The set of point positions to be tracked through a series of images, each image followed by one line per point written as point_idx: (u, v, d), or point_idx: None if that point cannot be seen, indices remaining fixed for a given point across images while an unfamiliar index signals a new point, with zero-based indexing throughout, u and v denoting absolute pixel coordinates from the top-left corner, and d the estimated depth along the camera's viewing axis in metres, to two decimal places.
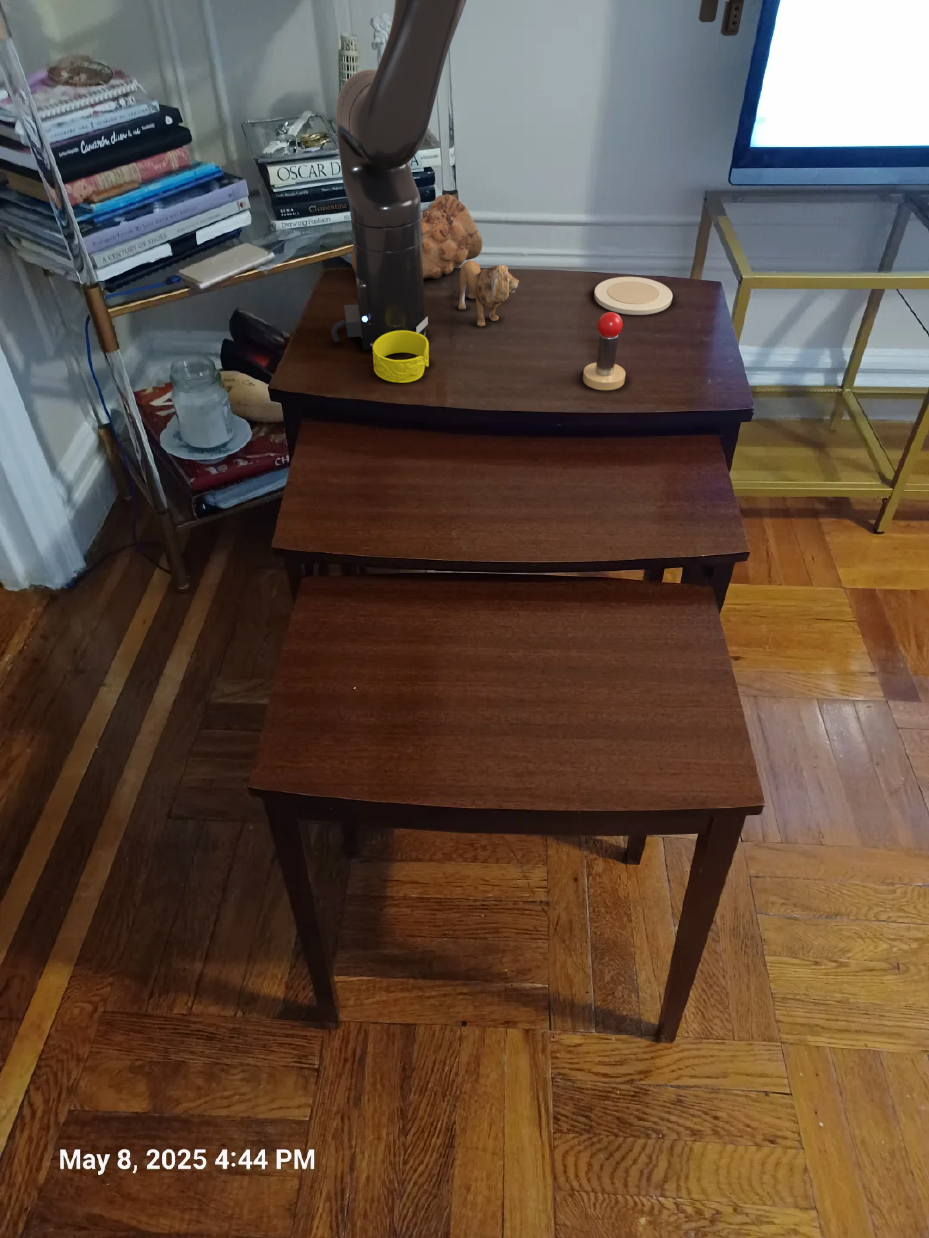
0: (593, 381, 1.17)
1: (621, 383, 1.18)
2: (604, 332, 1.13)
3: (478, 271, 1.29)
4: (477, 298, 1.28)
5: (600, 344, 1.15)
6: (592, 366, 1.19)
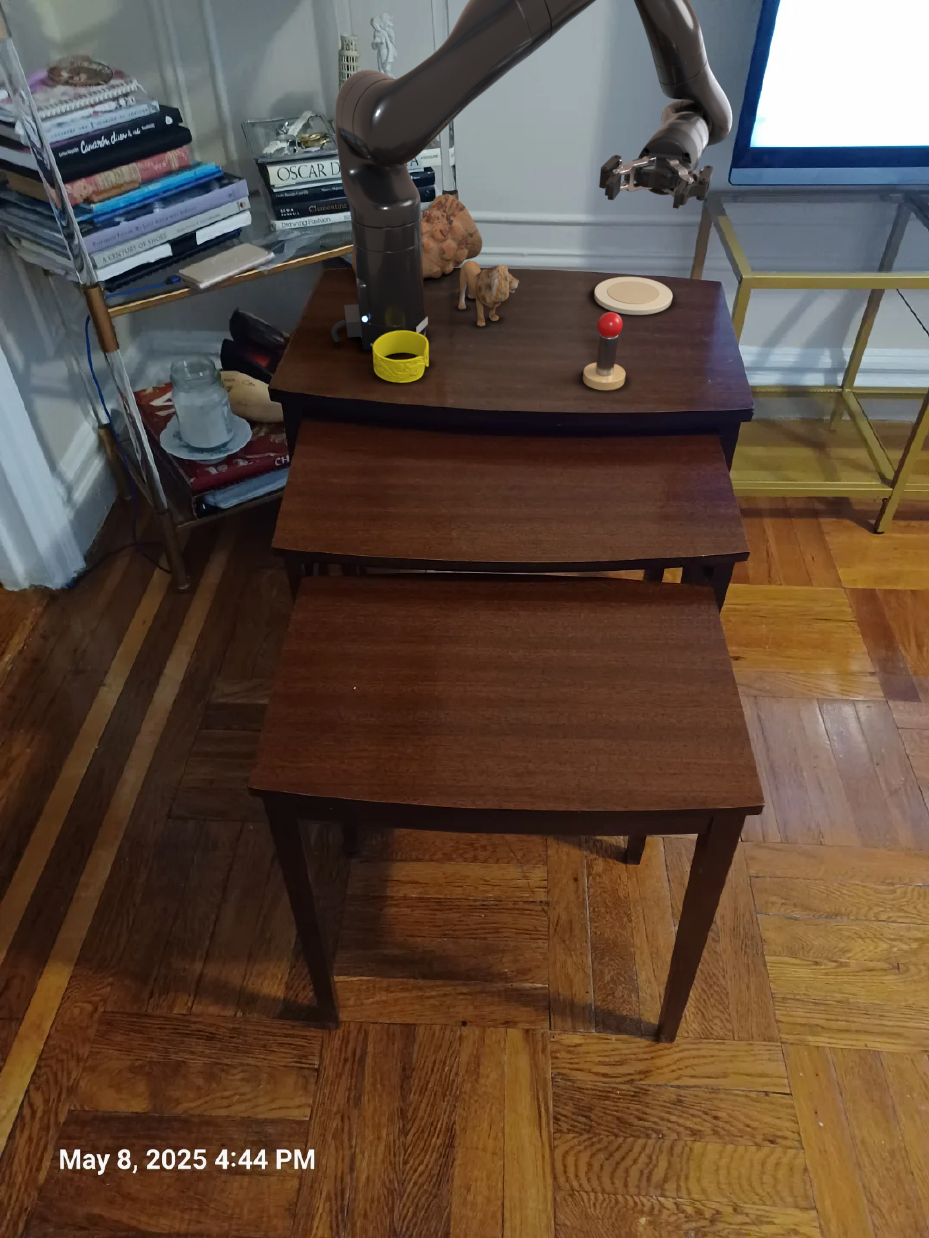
0: (593, 381, 1.17)
1: (621, 383, 1.18)
2: (604, 332, 1.13)
3: (478, 271, 1.29)
4: (477, 298, 1.28)
5: (600, 344, 1.15)
6: (592, 366, 1.19)
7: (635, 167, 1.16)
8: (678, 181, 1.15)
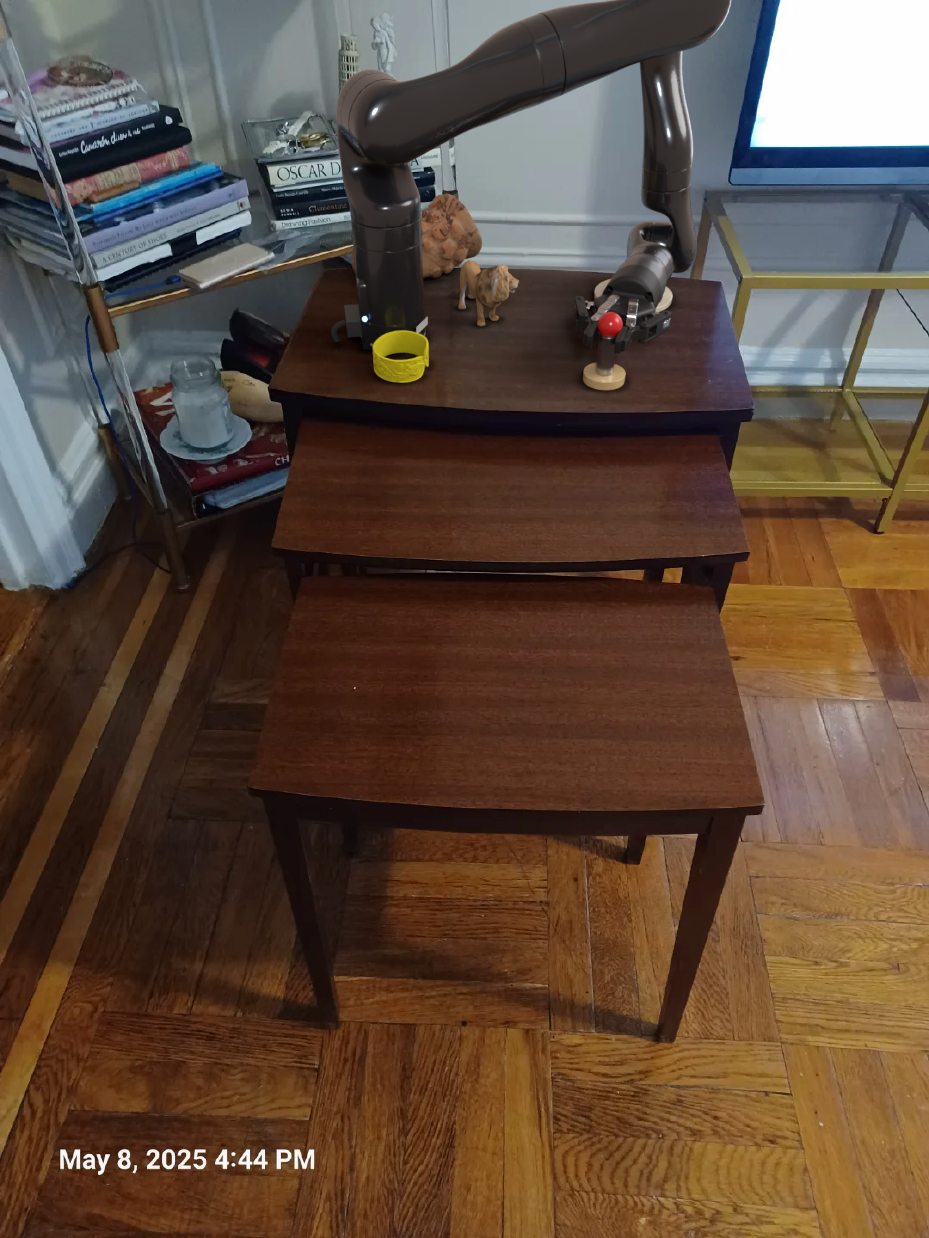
0: (593, 381, 1.17)
1: (621, 383, 1.18)
2: (604, 332, 1.13)
3: (478, 271, 1.29)
4: (477, 298, 1.28)
5: (600, 344, 1.15)
6: (592, 366, 1.19)
7: (608, 310, 1.17)
8: None
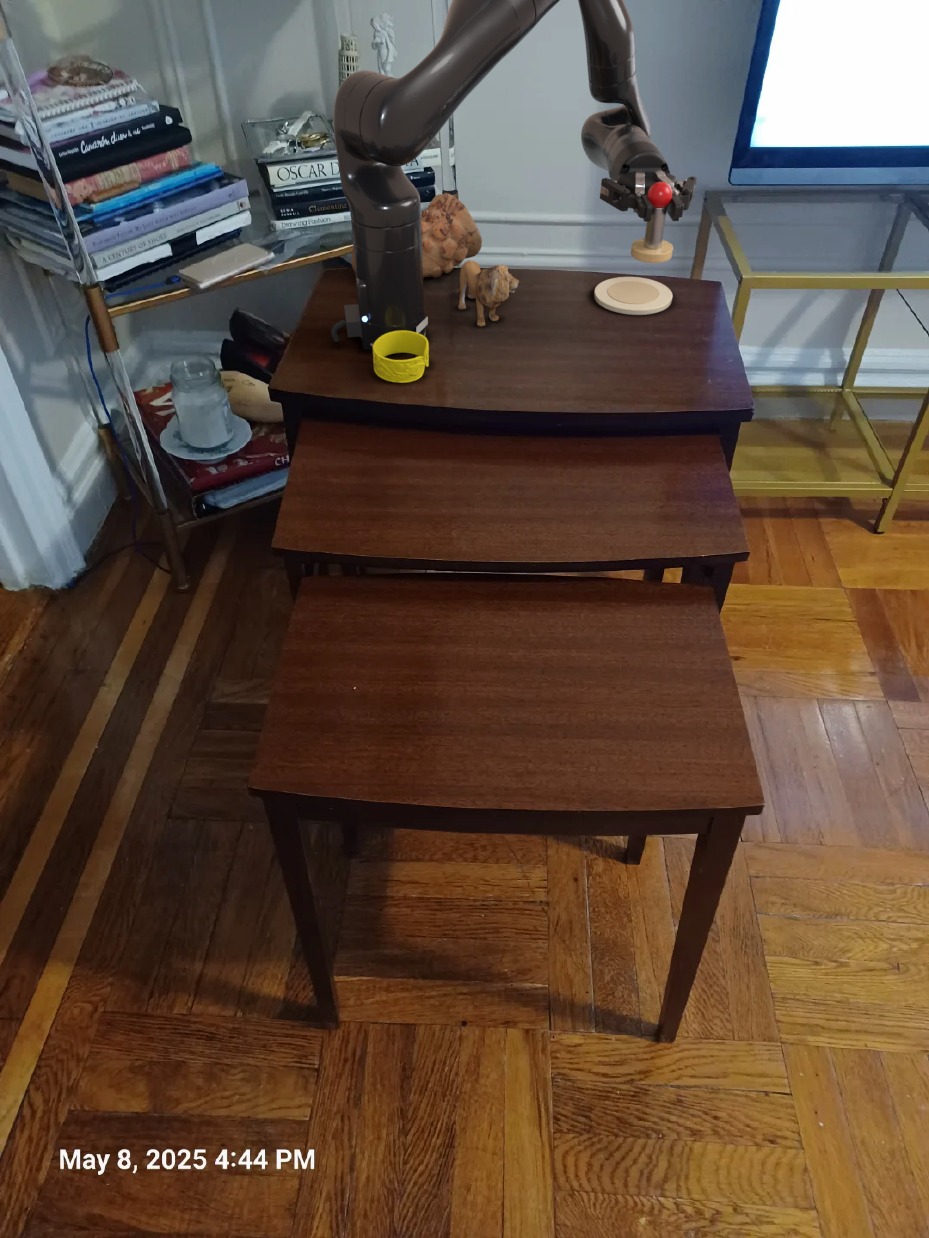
0: (650, 255, 1.19)
1: None
2: (659, 202, 1.15)
3: (478, 271, 1.29)
4: (477, 298, 1.28)
5: (652, 216, 1.17)
6: (636, 243, 1.21)
7: None
8: None
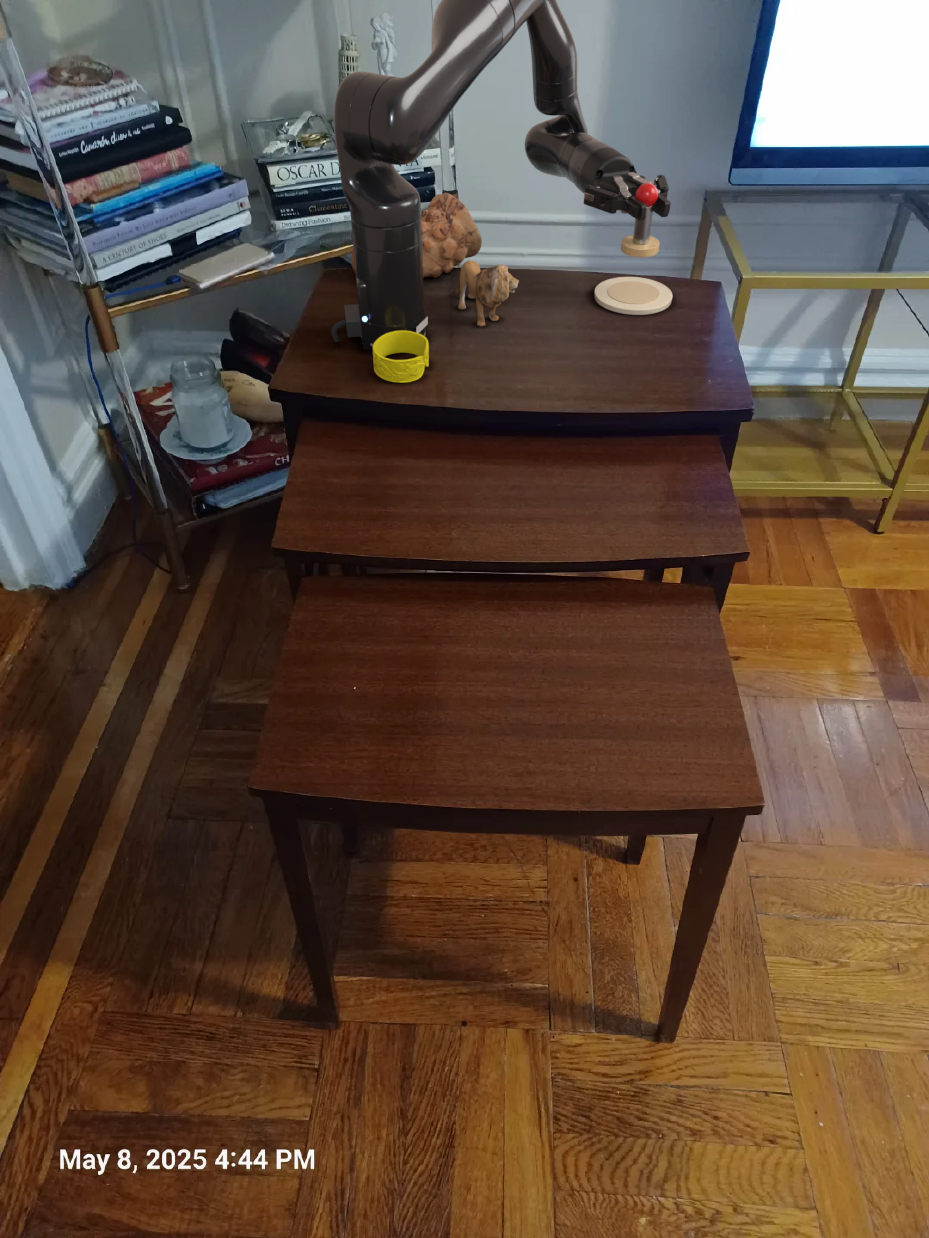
0: (644, 250, 1.30)
1: None
2: (649, 202, 1.26)
3: (478, 271, 1.29)
4: (477, 298, 1.28)
5: None
6: (625, 241, 1.32)
7: None
8: None
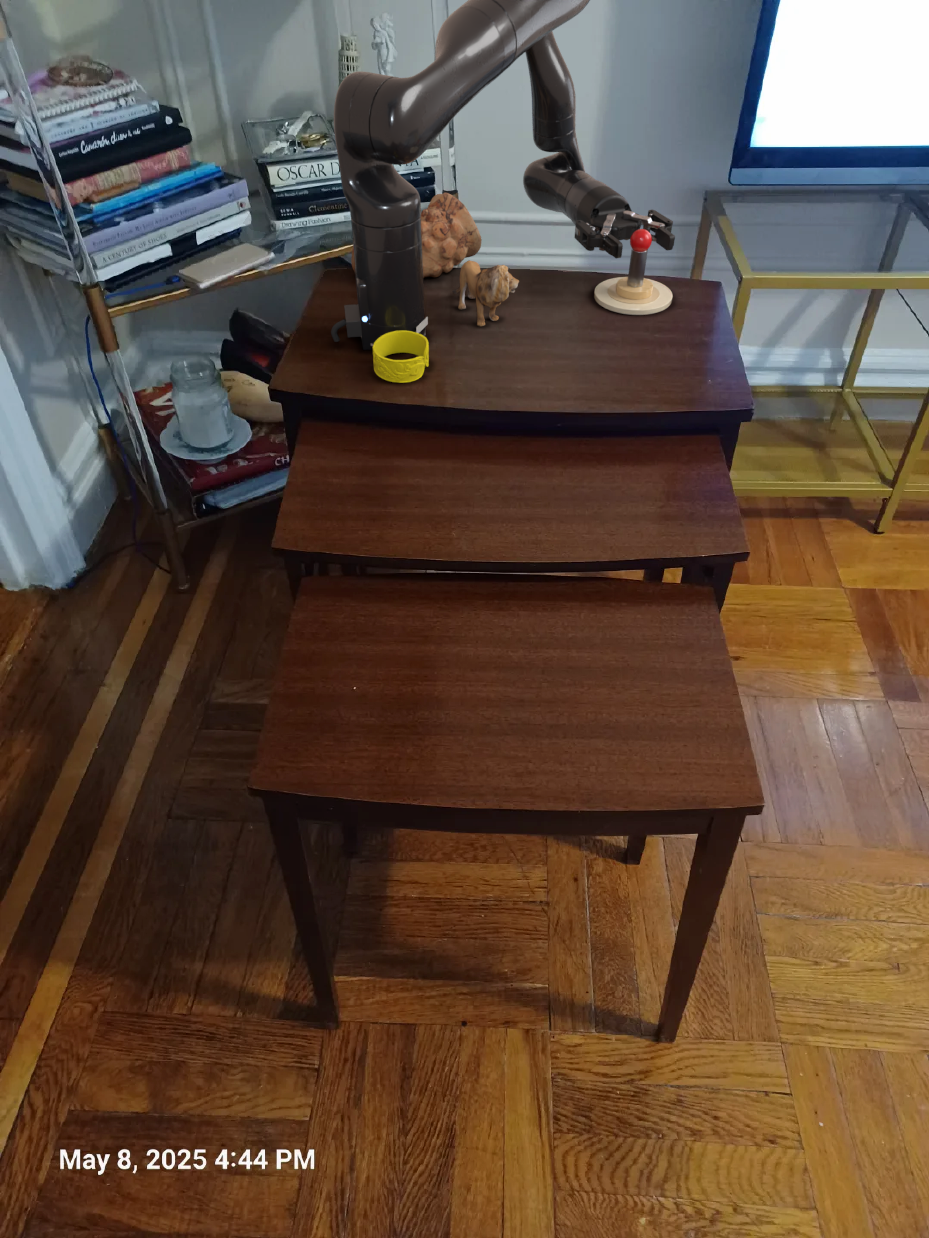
0: (638, 293, 1.34)
1: None
2: (643, 247, 1.30)
3: (478, 271, 1.29)
4: (477, 298, 1.28)
5: (636, 259, 1.32)
6: (620, 283, 1.36)
7: (611, 226, 1.33)
8: (647, 228, 1.35)
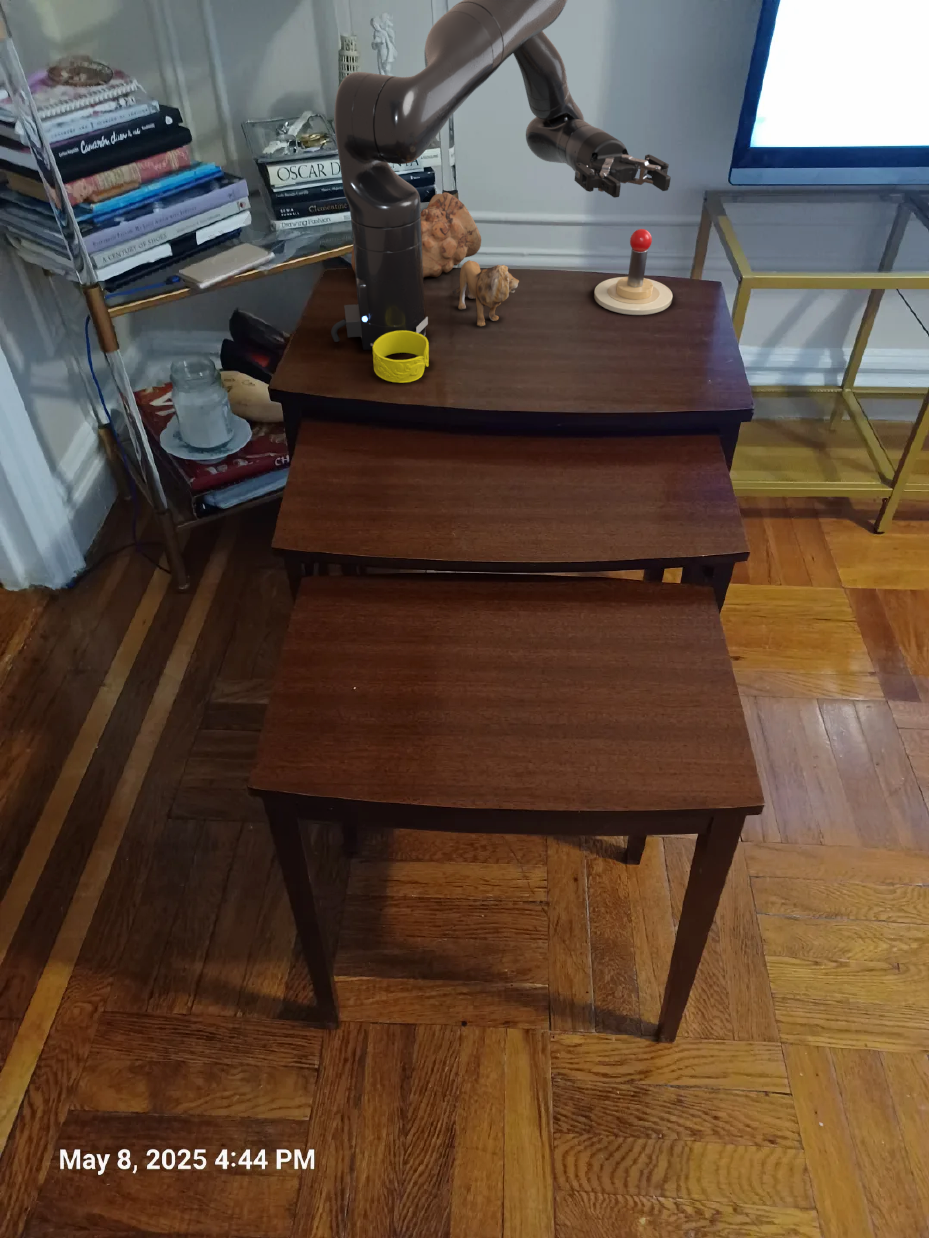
0: (638, 293, 1.34)
1: None
2: (643, 247, 1.30)
3: (478, 271, 1.29)
4: (477, 298, 1.28)
5: (636, 259, 1.32)
6: (620, 283, 1.36)
7: (610, 168, 1.39)
8: (644, 171, 1.41)
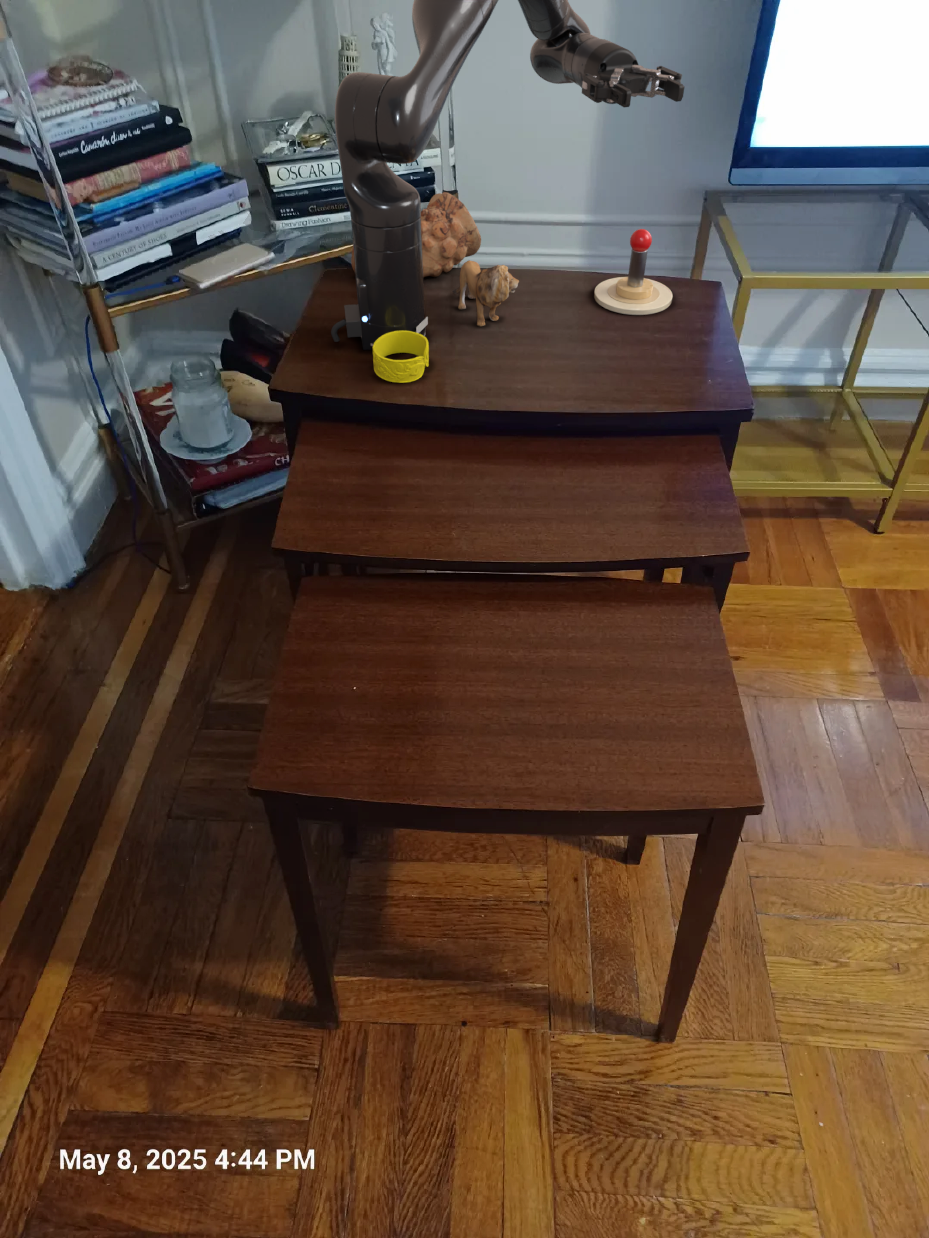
0: (638, 293, 1.34)
1: None
2: (643, 247, 1.30)
3: (478, 271, 1.29)
4: (477, 298, 1.28)
5: (636, 259, 1.32)
6: (620, 283, 1.36)
7: (619, 77, 1.30)
8: (656, 82, 1.32)
